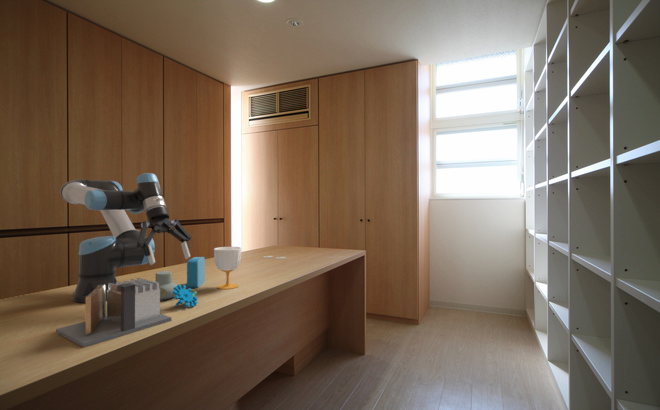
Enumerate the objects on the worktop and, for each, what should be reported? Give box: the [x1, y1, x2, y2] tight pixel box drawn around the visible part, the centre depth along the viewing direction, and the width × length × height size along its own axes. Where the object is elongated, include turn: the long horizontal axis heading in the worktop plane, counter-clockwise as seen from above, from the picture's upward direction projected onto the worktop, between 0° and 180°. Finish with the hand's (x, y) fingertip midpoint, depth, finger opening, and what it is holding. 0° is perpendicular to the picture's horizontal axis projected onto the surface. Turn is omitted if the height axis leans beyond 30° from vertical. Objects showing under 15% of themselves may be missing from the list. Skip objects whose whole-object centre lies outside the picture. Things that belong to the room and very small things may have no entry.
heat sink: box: [106, 277, 161, 324], centre depth 106 cm, size 12×10×11 cm
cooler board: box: [55, 283, 172, 348], centre depth 102 cm, size 18×24×14 cm
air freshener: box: [154, 270, 178, 301], centre depth 132 cm, size 11×8×10 cm
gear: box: [173, 284, 199, 308], centre depth 123 cm, size 11×6×10 cm
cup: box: [213, 246, 242, 290], centre depth 151 cm, size 12×12×17 cm
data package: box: [186, 256, 206, 289], centre depth 153 cm, size 12×4×12 cm, turn 6°
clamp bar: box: [85, 284, 107, 334], centre depth 99 cm, size 15×2×10 cm, turn 22°
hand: (171, 260), depth 127 cm, fingers open, 13 cm apart
